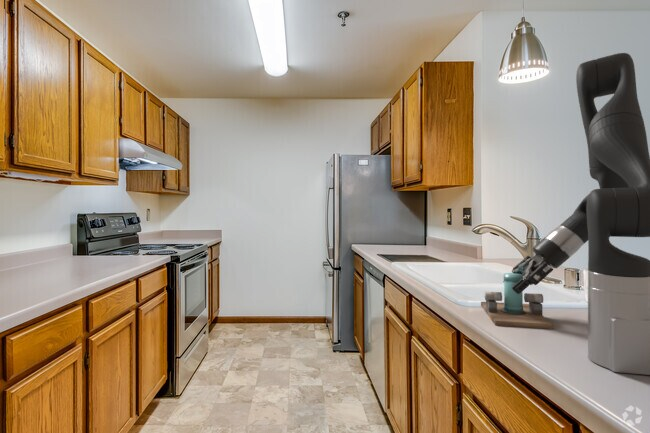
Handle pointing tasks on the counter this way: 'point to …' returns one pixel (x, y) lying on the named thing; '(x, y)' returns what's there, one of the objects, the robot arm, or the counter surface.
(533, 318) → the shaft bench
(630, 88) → the robot arm
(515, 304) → the cylinder
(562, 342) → the counter surface
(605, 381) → the counter surface
